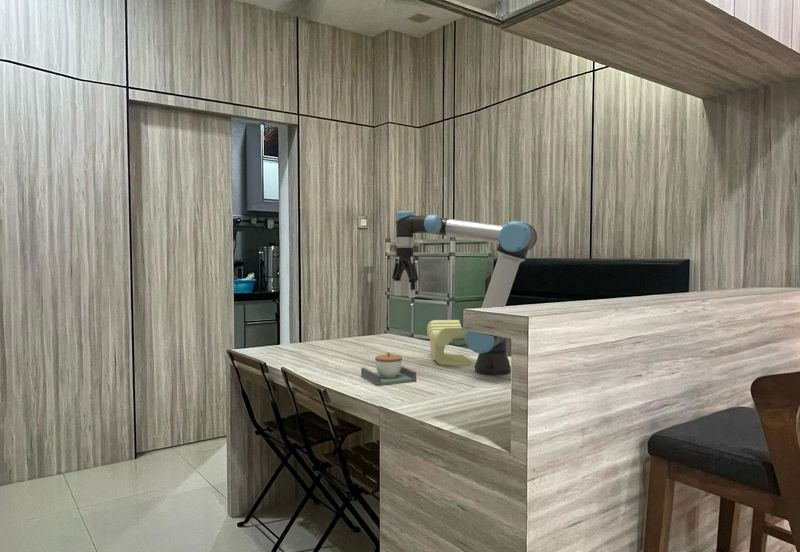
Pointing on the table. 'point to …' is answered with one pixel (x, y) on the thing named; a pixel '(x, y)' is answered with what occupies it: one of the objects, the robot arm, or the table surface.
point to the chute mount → (401, 377)
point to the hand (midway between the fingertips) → (404, 296)
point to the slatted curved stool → (445, 340)
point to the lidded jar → (388, 365)
